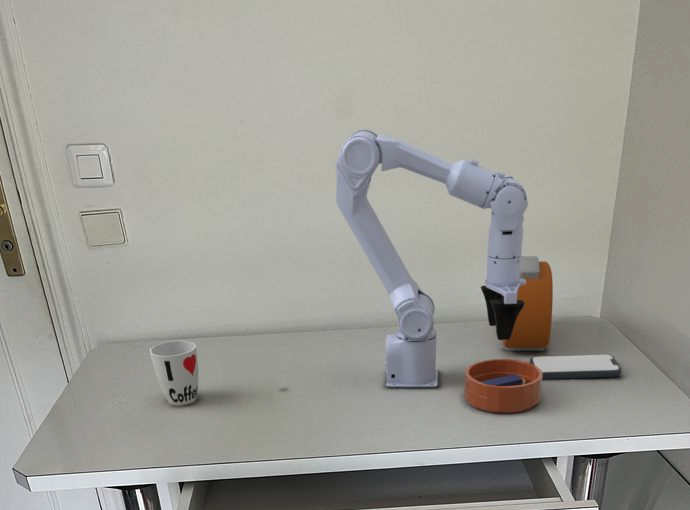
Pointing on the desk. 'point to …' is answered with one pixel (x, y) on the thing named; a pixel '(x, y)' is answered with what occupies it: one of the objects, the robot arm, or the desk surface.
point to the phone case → (577, 366)
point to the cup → (176, 370)
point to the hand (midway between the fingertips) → (499, 332)
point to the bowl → (502, 396)
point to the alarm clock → (533, 307)
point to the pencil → (506, 381)
